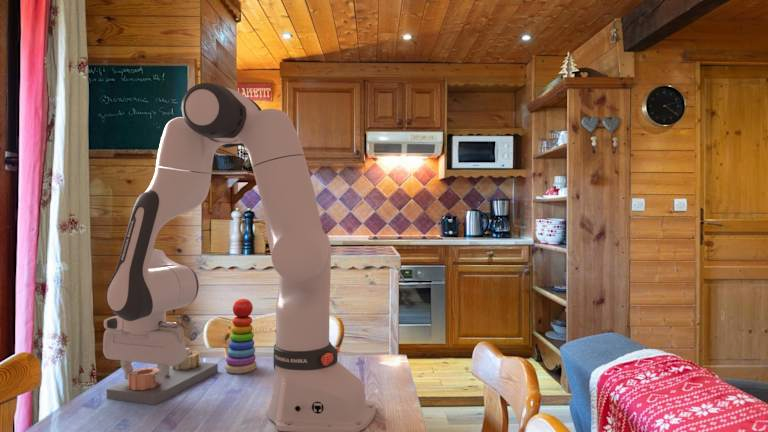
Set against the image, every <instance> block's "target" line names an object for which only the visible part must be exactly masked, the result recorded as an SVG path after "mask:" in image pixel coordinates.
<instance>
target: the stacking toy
mask: <svg viewBox="0 0 768 432" xmlns="http://www.w3.org/2000/svg"><path fill="white" fill-rule="evenodd" d="M253 309H254V308H253V303H252V302H251V300H249V299H248V298H240V299H238V300H236V301H235V302H234V304H233V305H232V312H233V314H234V317H233V318H232V324H233V325H232V326H231V327H230V331H231V332H232V333H230V335H229V336H230V337H229V338H230V340H229V342H228V347H229V348H228V350H227V355H226V358H225V362H226V363H225V366H224V369H225V371H226V372H228V373H230V374H236V375H237V374H238V375H239V374H245V373H246V374H247V373H250V372H253V371H254V370H256V368H257V367H258V366H257V364H258V363H257V361H256V354H255V353H256V347H255V340H254V332H253V325H252V323H253V317H251V316H250V315H251V314H252V312H253Z"/></svg>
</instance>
